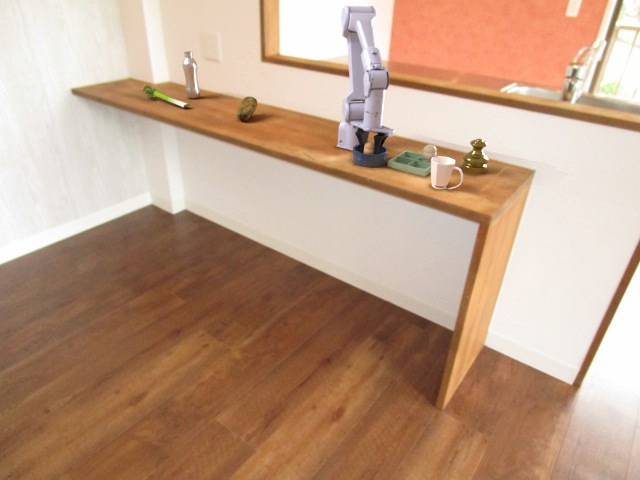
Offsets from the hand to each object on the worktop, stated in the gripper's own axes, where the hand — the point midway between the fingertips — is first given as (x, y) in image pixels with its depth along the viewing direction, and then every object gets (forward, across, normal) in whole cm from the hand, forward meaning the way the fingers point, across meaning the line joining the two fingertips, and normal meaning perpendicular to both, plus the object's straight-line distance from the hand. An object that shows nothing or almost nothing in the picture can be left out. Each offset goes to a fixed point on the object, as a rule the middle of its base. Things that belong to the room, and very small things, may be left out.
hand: (369, 154), depth 146 cm
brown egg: (+2, 0, 0) cm, 2 cm away
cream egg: (+2, +16, +9) cm, 19 cm away
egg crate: (+3, +13, +6) cm, 15 cm away
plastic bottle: (+3, -106, +20) cm, 108 cm away
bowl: (+3, 0, 0) cm, 3 cm away
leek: (+3, -108, +7) cm, 108 cm away
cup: (+3, +27, -4) cm, 28 cm away
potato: (+3, -64, +12) cm, 65 cm away
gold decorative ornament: (+3, +29, +14) cm, 33 cm away
